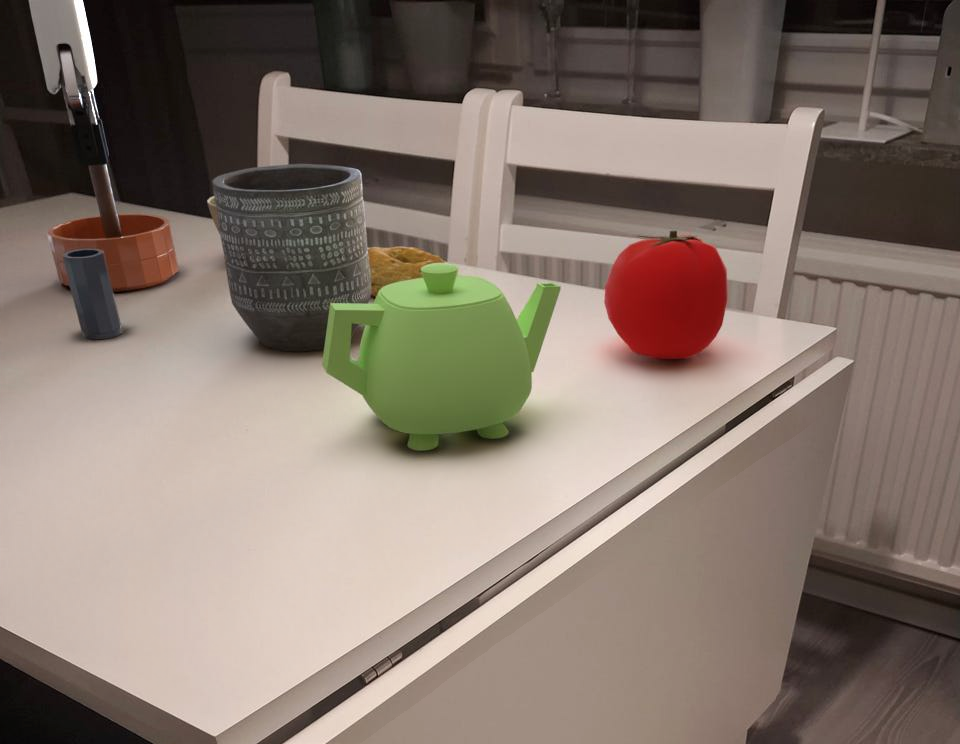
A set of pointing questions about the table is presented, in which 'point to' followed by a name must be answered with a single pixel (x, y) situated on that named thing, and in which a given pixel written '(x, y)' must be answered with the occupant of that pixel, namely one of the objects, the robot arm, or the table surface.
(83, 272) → the tube
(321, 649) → the table surface
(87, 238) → the bowl
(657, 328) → the tomato
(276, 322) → the planter
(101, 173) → the stick
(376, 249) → the bagel
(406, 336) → the teapot
